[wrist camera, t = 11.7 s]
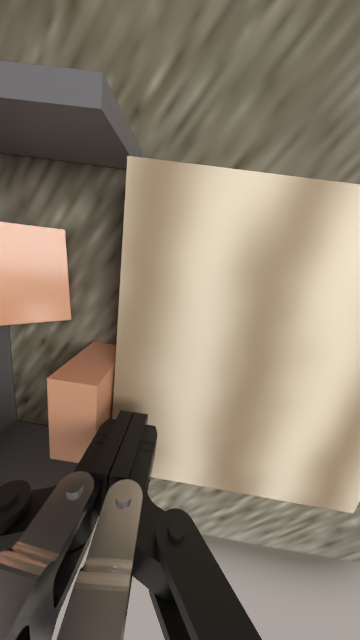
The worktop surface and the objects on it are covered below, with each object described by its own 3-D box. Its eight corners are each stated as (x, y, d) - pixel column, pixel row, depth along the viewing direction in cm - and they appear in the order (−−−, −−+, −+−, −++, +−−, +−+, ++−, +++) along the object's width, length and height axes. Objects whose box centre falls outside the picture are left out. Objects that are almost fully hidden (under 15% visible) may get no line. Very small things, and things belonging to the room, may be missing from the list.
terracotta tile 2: (97, 386, 10) (46, 378, 10) (94, 465, 12) (50, 458, 12) (128, 346, 15) (93, 341, 15) (123, 405, 16) (92, 400, 16)
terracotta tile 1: (-75, 212, 9) (-55, 219, 11) (-48, 329, 10) (-35, 316, 12) (64, 229, 11) (60, 233, 13) (71, 319, 13) (66, 310, 15)
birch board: (430, 217, 12) (508, 203, 9) (325, 469, 16) (353, 513, 13) (143, 181, 12) (127, 156, 9) (123, 434, 17) (109, 469, 14)
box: (141, 150, 12) (102, 71, 7) (119, 448, 17) (89, 519, 13) (-34, 128, 12) (-185, 40, 7) (0, 427, 18) (-73, 488, 13)
